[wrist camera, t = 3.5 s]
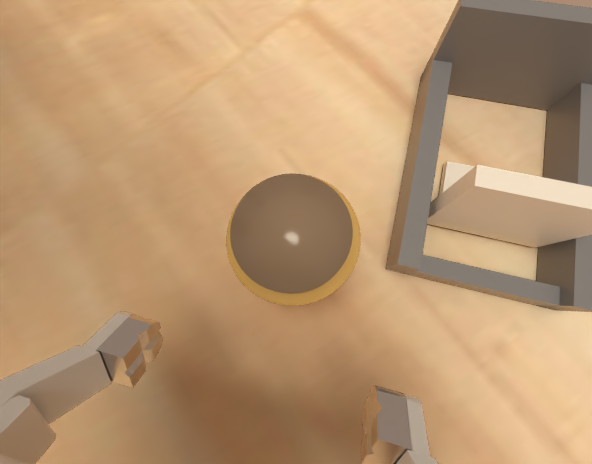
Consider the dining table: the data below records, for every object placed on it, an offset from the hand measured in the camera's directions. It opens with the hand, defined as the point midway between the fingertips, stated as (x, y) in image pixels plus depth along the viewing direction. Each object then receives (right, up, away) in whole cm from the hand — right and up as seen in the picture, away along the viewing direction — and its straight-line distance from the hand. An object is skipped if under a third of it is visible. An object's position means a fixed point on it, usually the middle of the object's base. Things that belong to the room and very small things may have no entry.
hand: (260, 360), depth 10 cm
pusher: (+15, +7, +11) cm, 20 cm away
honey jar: (+2, +2, +11) cm, 11 cm away
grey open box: (+16, +9, +12) cm, 22 cm away
